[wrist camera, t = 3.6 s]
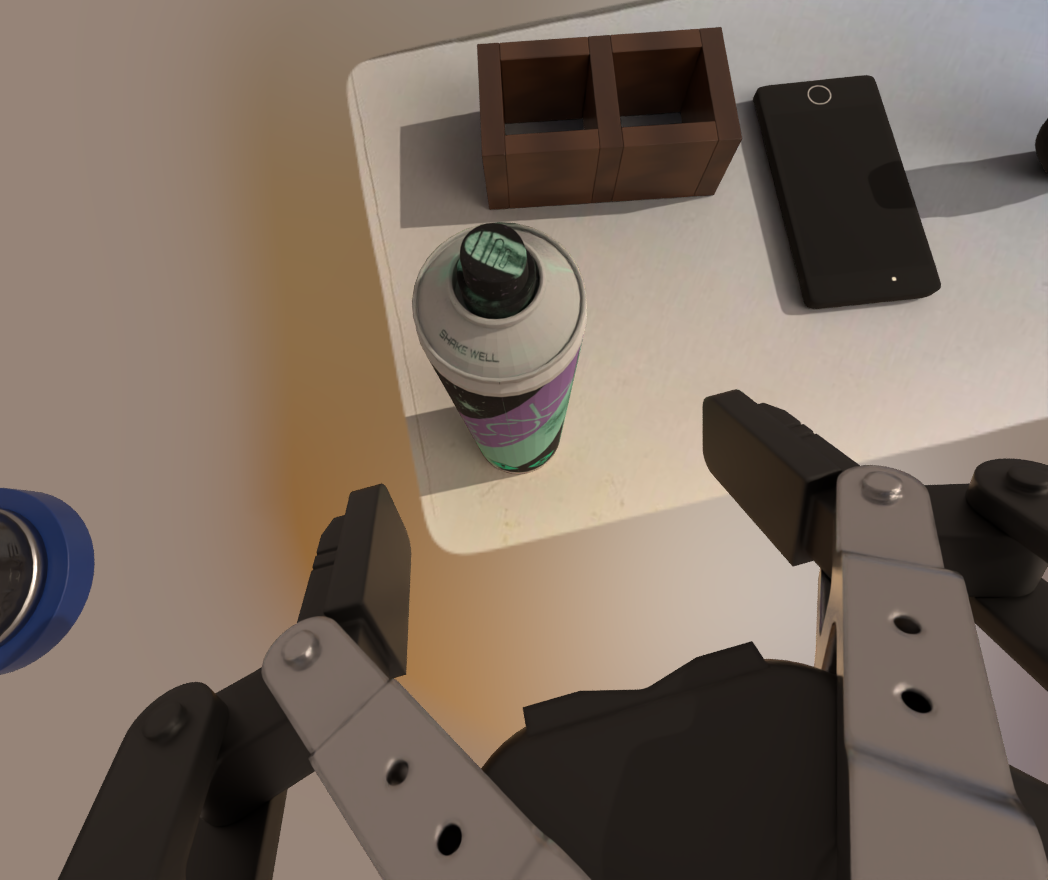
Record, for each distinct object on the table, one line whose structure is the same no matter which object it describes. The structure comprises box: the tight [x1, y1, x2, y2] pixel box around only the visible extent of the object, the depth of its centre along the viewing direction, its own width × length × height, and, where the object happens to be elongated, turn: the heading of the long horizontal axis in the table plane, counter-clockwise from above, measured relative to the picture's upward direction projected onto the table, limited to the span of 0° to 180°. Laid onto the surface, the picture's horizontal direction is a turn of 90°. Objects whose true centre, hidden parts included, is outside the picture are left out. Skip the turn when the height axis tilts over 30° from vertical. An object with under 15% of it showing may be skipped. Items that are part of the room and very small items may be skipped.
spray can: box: [412, 222, 587, 474], centre depth 22 cm, size 6×6×20 cm
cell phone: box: [753, 75, 941, 309], centre depth 34 cm, size 9×18×1 cm, turn 6°
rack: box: [477, 27, 742, 210], centre depth 34 cm, size 16×9×5 cm, turn 93°
